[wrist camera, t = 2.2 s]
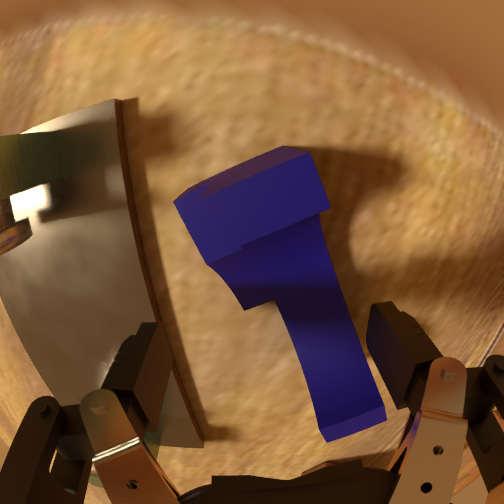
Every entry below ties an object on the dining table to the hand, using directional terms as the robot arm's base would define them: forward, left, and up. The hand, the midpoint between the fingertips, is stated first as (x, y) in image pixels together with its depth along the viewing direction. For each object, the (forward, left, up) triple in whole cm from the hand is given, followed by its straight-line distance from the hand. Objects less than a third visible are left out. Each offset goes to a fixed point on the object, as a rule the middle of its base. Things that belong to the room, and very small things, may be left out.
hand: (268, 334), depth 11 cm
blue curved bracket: (-1, 0, -5) cm, 5 cm away
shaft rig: (+12, +2, -4) cm, 13 cm away
